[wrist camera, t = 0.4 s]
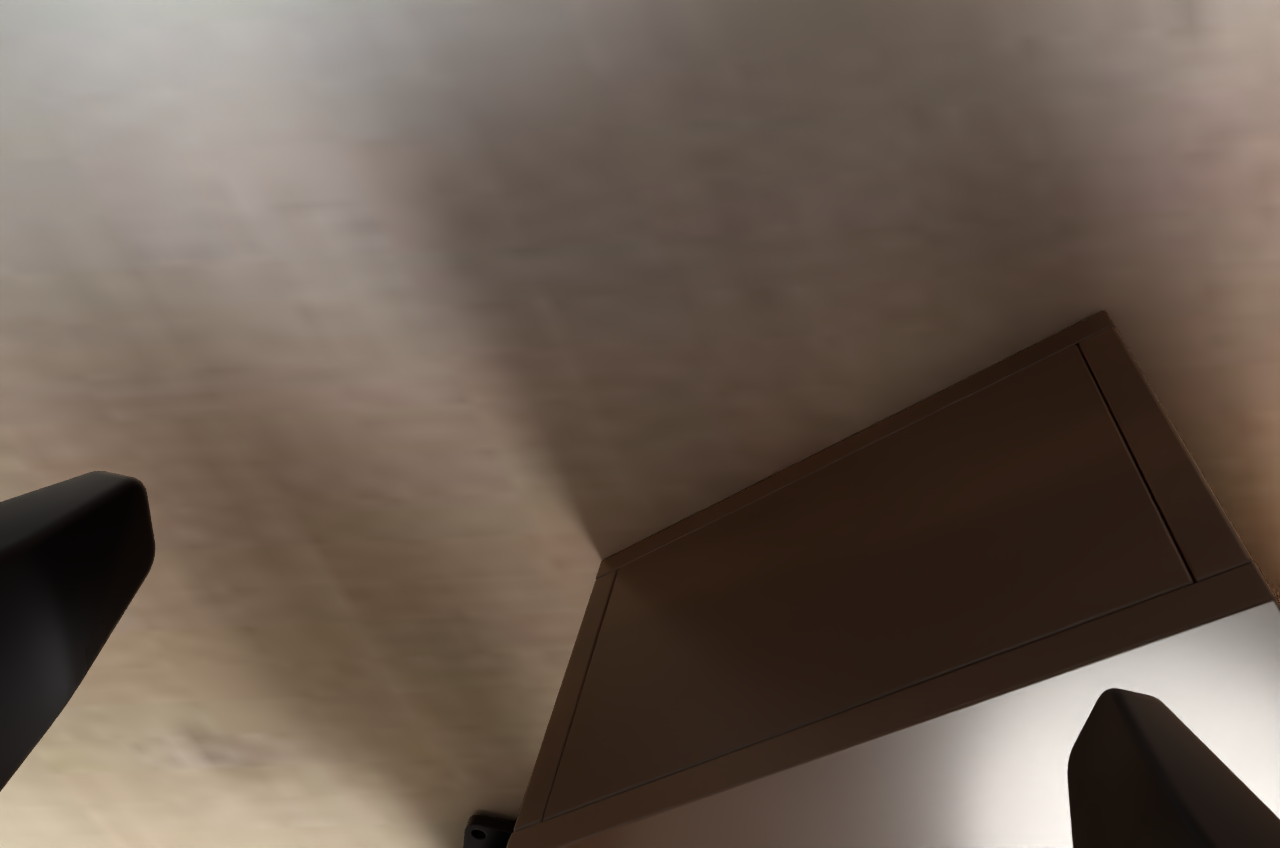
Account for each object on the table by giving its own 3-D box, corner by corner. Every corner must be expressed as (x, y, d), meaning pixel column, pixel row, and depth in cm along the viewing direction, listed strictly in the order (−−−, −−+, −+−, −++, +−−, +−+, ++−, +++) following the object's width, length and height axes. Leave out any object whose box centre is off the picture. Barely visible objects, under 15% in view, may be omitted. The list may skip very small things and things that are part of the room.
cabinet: (1345, 740, 26) (1584, 1153, 17) (870, 874, 32) (882, 1229, 23) (1104, 308, 21) (1275, 597, 13) (600, 560, 27) (499, 867, 19)
